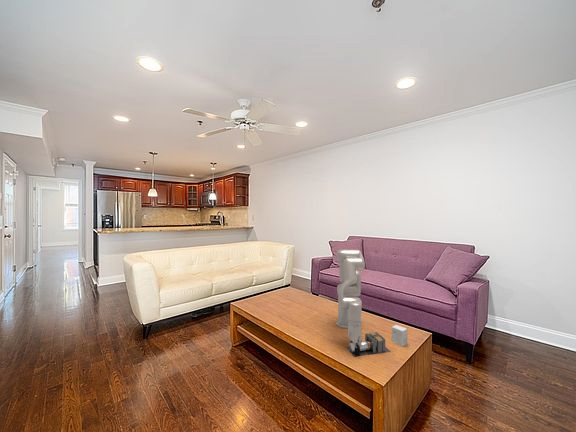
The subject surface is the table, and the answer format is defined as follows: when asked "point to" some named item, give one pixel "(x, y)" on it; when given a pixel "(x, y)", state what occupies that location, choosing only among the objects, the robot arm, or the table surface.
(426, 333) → the table surface
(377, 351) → the rail
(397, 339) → the small box
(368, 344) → the tube
